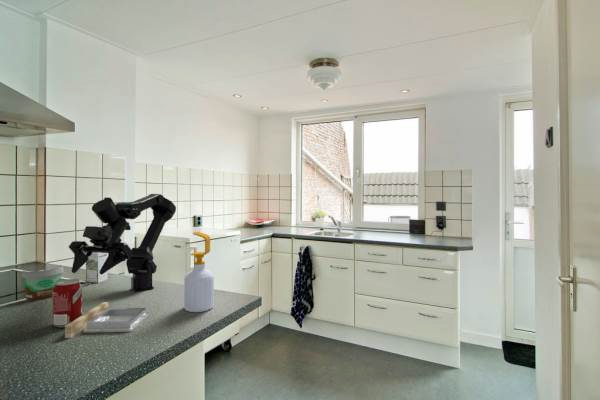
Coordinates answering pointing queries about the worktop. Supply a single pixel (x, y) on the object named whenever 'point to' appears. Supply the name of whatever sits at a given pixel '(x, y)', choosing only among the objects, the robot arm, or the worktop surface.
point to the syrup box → (95, 267)
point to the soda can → (66, 302)
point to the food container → (41, 282)
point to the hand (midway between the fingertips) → (86, 273)
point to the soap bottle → (199, 283)
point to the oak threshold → (84, 320)
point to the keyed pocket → (117, 320)
